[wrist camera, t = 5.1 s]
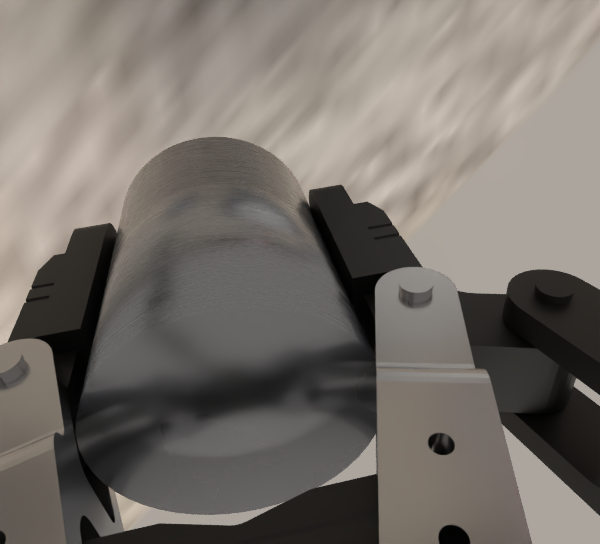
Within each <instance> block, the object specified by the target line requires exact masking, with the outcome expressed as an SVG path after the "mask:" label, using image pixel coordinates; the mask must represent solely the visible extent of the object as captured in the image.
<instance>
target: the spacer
mask: <svg viewBox="0 0 600 544" xmlns="http://www.w3.org/2000/svg"><path fill="white" fill-rule="evenodd" d="M375 434H376V358H375V356H374V353H373V351H372V349H371V346H370V344H369V342H368V340H367V337H366V335H365V333H364V330H363V328H362V326H361V324H360V321H359V319H358V317H357V314H356V312H355V310H354V308H353V305H352V303H351V301H350V298H349V296H348V294H347V291H346V289H345V287H344V285H343V282H342V280H341V278H340V275H339V273H338V271H337V269H336V266H335V264H334V262H333V259H332V257H331V255H330V253H329V250H328V248H327V246H326V243H325V241H324V239H323V237H322V234H321V232H320V230H319V227H318V225H317V223H316V220H315V218H314V216H313V214H312V211H311V209H310V207H309V204H308V202H307V200H306V198H305V195H304V193H303V191H302V189H301V187H300V185H299V183H298V181H297V179H296V178H295V176H294V175H293V173H292V172H291V171H290V169H289V168H288V167H287V166H286V165H285V164H284V163H283V162H282V161H281V160H279V159H278V158H277V157H276V156H274V155H273V154H271V153H270V152H268V151H267V150H265V149H263V148H261V147H259V146H257V145H254V144H252V143H249V142H246V141H242V140H239V139H233V138H226V137H207V138H198V139H193V140H189V141H185V142H182V143H180V144H177V145H174V146H172V147H170V148H168V149H166V150H164V151H162V152H161V153H159V154H158V155H157V156H155V157H154V158H152V159H151V160H150V161H149V162H148V163H147V164H146V165H145V166H144V167H143V168H142V169H141V170H140V172H139V173H138V174H137V175H136V177H135V178H134V180H133V182H132V183H131V185H130V187H129V189H128V192H127V195H126V197H125V201H124V205H123V210H122V214H121V219H120V223H119V228H118V232H117V237H116V241H115V246H114V250H113V255H112V259H111V264H110V268H109V272H108V277H107V281H106V286H105V290H104V295H103V299H102V304H101V308H100V313H99V317H98V322H97V326H96V331H95V335H94V340H93V344H92V348H91V353H90V357H89V362H88V366H87V371H86V375H85V380H84V384H83V389H82V393H81V398H80V402H79V407H78V412H77V417H76V438H77V443H78V447H79V450H80V452H81V454H82V456H83V459H84V461H85V462H86V464H87V465H88V466H89V468H90V469H91V471H92V472H93V473H94V474H95V475H96V476H97V477H98V478H99V479H100V480H101V481H102V482H103V483H104V484H106V485H107V486H108V487H110V488H111V489H113V490H114V491H115V492H117V493H119V494H121V495H123V496H125V497H126V498H128V499H130V500H133V501H135V502H138V503H140V504H143V505H146V506H149V507H153V508H157V509H160V510H165V511H171V512H176V513H185V514H201V515H202V514H204V515H214V514H230V513H238V512H246V511H250V510H256V509H261V508H264V507H268V506H272V505H276V504H279V503H282V502H285V501H288V500H290V499H292V498H294V497H296V496H298V495H300V494H302V493H304V492H306V491H308V490H310V489H313V488H317V487H319V486H321V485H322V484H324V483H326V482H327V481H329V480H330V479H332V478H333V477H335V476H336V475H338V474H339V473H340V472H342V471H343V470H344V469H345V468H347V467H348V466H349V465H350V464H351V463H352V462H353V461H354V460H355V459H356V458H358V457H359V455H360V454H361V453H362V452H363V451H364V450H365V448H366V447H367V446H368V445H369V443H370V442H371V440H372V438H373V437H374V435H375Z"/></svg>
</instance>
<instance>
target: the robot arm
mask: <svg viewBox="0 0 600 544" xmlns="http://www.w3.org/2000/svg"><path fill="white" fill-rule="evenodd" d="M309 204H310V209H311V211H312V214H313V216H314V218H315V220H316V223H317V225H318V227H319V230H320V232H321V234H322V237H323V239H324V241H325V243H326V246H327V248H328V250H329V253H330V255H331V257H332V259H333V262H334V264H335V266H336V269H337V271H338V273H339V275H340V278H341V280H342V282H343V285H344V287H345V289H346V291H347V294H348V296H349V298H350V301H351V303H352V305H353V308H354V310H355V312H356V314H357V317H358V319H359V321H360V324H361V326H362V328H363V330H364V333H365V335H366V337H367V340H368V342H369V344H370V346H371V349H372V351H373V353H374V356H375V358H376V474H375V475H371V476H366V477H362V478H357V479H353V480H349V481H344V482H340V483H335V484H331V485H327V486H322V487H318V488H313V489H310V490H308V491H306V492H304V493H302V494H300V495H298V496H296V497H294V498H292V499H290V500H288V501H286V502H284V503H282V504H280V505H278V506H277V507H274V508H272V509H271V510H268V511H267V512H265V513H263V514H260V515H259V516H257V517H255V518H253V519H251V520H249V521H247V522H244V523H242V524H239V525H234V526H233V525H232V526H223V525H192V524H155V525H152V526H147V527H142V528H138V529H134V530H129V531H125V532H124V529H123V525H122V520H121V516H120V512H119V507H118V503H117V499H116V494H115V491H114V490H113V489H111V488H110V487H108V486H107V485H106V484H104V483H103V482H102V481H101V480H100V479H99V478H98V477H97V476H96V475H95V474H94V473H93V472H92V471H91V469H90V468H89V466H88V465H87V464H86V462H85V461H84V459H83V456H82V454H81V452H80V450H79V447H78V443H77V438H76V417H77V412H78V407H79V402H80V398H81V393H82V389H83V384H84V380H85V375H86V371H87V366H88V362H89V357H90V353H91V348H92V344H93V340H94V335H95V331H96V326H97V322H98V317H99V313H100V308H101V304H102V299H103V295H104V290H105V286H106V281H107V277H108V272H109V268H110V264H111V259H112V255H113V250H114V246H115V241H116V237H117V233H116V230H115V228H114V227H113V225H112V224H111V223H108V224H102V225H96V226H90V227H84V228H78V229H75V230H74V231H73V234H72V236H71V239H70V242H69V244H68V247H67V250H66V252H65V254H59V255H54V256H53V257H52V258H51V259H50V260H49V261H48V262H47V263H46V264H45V265H44V266H43V267H42V268H41V269H40V270H38V272H37V275H36V277H35V279H34V282H33V284H32V286H31V287H32V289H31V290H30V291H29V293H28V296H27V298H26V303H24V305H23V307H22V310H21V312H20V314H19V317H18V319H17V321H16V324H15V326H14V328H13V331H12V333H11V335H10V338H9V340H8V342H7V343H5V344H2V345H0V544H532V541H531V537H530V534H529V529H528V526H527V522H526V518H525V514H524V510H523V506H522V502H521V498H520V494H519V490H518V486H517V482H516V478H515V475H514V471H513V467H512V463H511V459H510V455H509V451H508V447H507V443H506V439H505V435H504V431H503V427H502V424H503V425H504V426H505V427H506V428H507V429H508V430H509V431H510V432H511V433H512V434H513V435H514V436H515V437H516V438H517V439H519V440H520V441H521V442H522V443H523V444H524V445H525V446H526V447H527V448H528V449H529V450H530V451H531V452H533V454H535V455H536V456H537V457H538V458H539V459H540V460H541V461H542V462H543V463H544V464H545V465H546V466H547V467H548V468H549V469H550V470H552V471H553V472H554V473H555V474H556V475H557V476H558V477H559V478H560V479H561V480H562V481H563V482H564V483H565V484H566V485H568V486H569V487H570V488H571V489H572V490H573V491H574V492H575V493H576V494H577V495H578V496H579V497H580V498H581V499H582V500H584V501H585V502H586V503H587V504H588V505H589V506H590V507H591V508H592V509H593V510H594V511H596V513H597V514H598V515H600V406H599V405H597V404H596V403H595V402H593V401H592V400H591V399H590V398H588V397H587V396H586V395H584V394H583V393H582V392H580V391H579V390H578V389H576V388H575V387H574V383H575V380H576V378H577V379H579V380H580V381H582V382H583V383H584V384H586V385H587V386H588V387H590V388H591V389H592V390H594V391H595V392H597V393H598V394H599V395H600V290H599V289H597V288H595V287H594V286H592V285H590V284H589V283H587V282H585V281H583V280H581V279H579V278H577V277H575V276H572V275H570V274H567V273H563V272H559V271H554V270H530V271H526V272H523V273H520V274H518V275H516V276H515V277H514V278H512V279H511V281H510V282H509V284H508V288H507V293H506V294H476V293H466V292H460V291H457V288H456V286H455V284H454V283H453V282H452V280H450V279H449V278H448V277H447V276H445V275H444V274H442V273H440V272H437V271H435V270H432V269H427V268H423V267H422V266H421V264H420V263H419V261H418V260H417V258H416V257H415V256H414V254H413V253H412V251H411V250H410V248H409V247H408V245H407V244H406V243H405V241H404V240H403V238H402V237H401V236H399V232H398V231H397V229H396V228H395V227H394V226H392V222H391V221H390V219H389V218H388V216H387V215H386V214H385V212H384V211H383V210H381V209H379V208H378V207H376V206H374V205H372V204H371V203H369V202H363V203H357V204H353V202H352V201H351V199H350V197H349V196H348V194H347V192H346V191H345V189H344V187H343V186H342V185H336V186H330V187H324V188H319V189H313V190H310V191H309Z"/></svg>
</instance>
